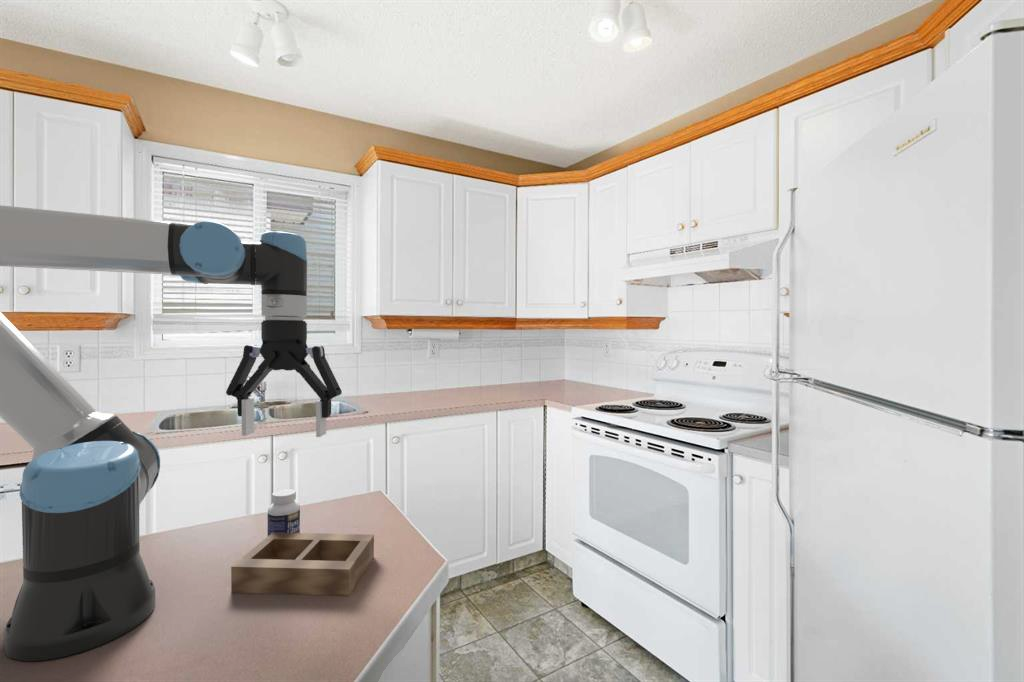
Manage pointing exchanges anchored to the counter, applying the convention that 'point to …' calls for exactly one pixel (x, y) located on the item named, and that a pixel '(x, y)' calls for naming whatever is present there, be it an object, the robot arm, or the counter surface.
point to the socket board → (304, 564)
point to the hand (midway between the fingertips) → (284, 434)
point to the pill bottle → (284, 512)
